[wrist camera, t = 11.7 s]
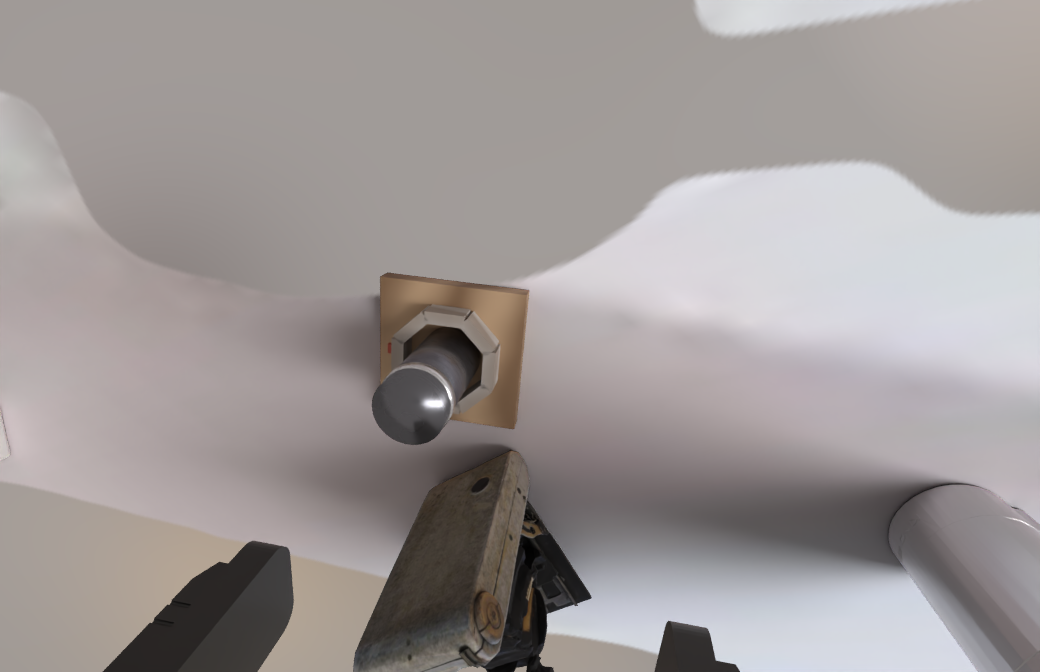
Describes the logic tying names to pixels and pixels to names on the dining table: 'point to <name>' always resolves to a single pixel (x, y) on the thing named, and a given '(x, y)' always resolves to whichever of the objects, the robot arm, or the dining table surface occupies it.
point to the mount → (480, 315)
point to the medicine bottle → (3, 441)
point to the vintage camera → (471, 580)
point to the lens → (426, 387)
